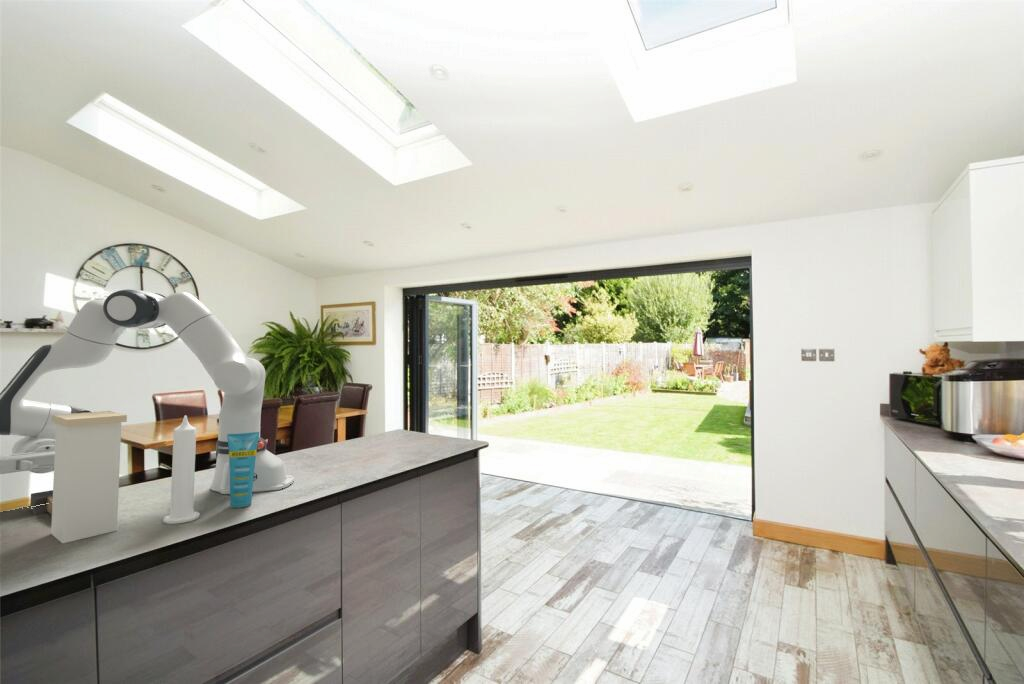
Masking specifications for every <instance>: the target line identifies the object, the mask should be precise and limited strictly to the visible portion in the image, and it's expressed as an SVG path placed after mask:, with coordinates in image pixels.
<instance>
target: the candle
mask: <svg viewBox="0 0 1024 684" xmlns="http://www.w3.org/2000/svg"><path fill="white" fill-rule="evenodd" d="M172 437H173V438H172V464H171V466H172V467H171V468H172V469H171V485H170V486H171V489H170V491H171V493H170V514H168V515H165V517H163V523H164V524H166V525H167V524H168V525H177V524H178V525H179V524H185V523H190V522H193V521H195V520H196V519H198V518H199V517H200V512H199V511H194V499H195V498H194V497H195V496H194V494H195V476H196V475H195V471H196V448H197V447H196V443H197V428H196V427H194V426H193V425H191V424H190V422H189V420H188V415H184V416H183V419H182V422H181V424H180V425H178V426H177V427H176V428H174V429H173V434H172Z"/></svg>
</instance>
